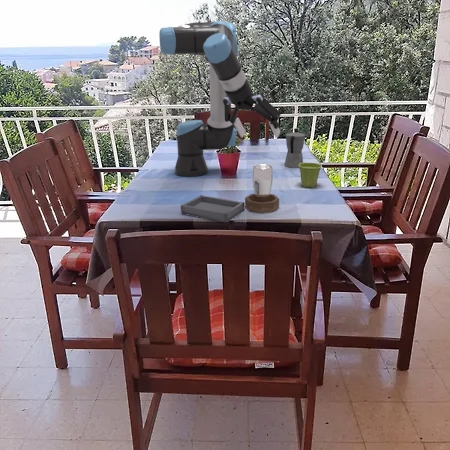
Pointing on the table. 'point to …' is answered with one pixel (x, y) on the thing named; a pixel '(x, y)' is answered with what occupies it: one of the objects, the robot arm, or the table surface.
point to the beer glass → (262, 182)
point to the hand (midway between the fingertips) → (260, 134)
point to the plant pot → (309, 174)
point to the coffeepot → (294, 149)
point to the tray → (213, 208)
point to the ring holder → (261, 204)
